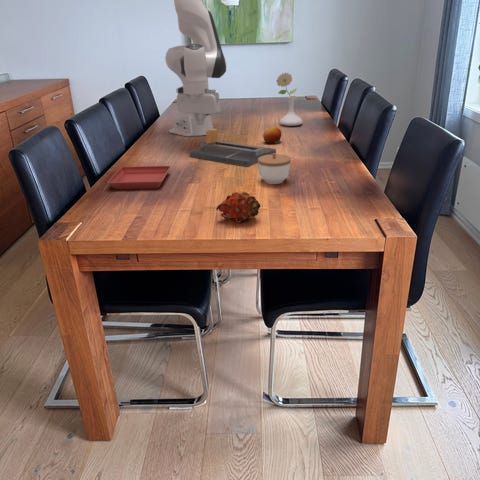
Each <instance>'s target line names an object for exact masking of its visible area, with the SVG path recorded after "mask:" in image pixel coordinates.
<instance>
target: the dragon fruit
mask: <svg viewBox="0 0 480 480" xmlns="http://www.w3.org/2000/svg"><path fill="white" fill-rule="evenodd" d="M260 208H261V204H260V202H259V201H258V200H257V199H256V198H255V197H254V195H250V193H247V192H246V191H242V192H241V193H239V192H232V193H231V195H227V196H226V197H225V199H224V200H223V201H222V202H221V203H220V204H218V205H217V207H216V211H219V212H220V213H221V212H222V213H221V214H220V216H221V217H222V218H224V219H231V220H232V219H233V220H232V221H235V222H236V223H237V224H239V223H241V222H242V221H244V222H247V221H250V219H251V218H255V217H257V216H258V215H259V213H260V212H259V210H260Z"/></svg>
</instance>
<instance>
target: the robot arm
mask: <svg viewBox="0 0 480 480" xmlns="http://www.w3.org/2000/svg"><path fill="white" fill-rule="evenodd" d="M173 3H174V4H173V5H174V9H175V13H176V15H177V24H178V31H179V32H180V33H181V34H182V35H183V36H185V37H187V38H190V39H191V40H192V42H193V43H191V44H187V45H176V46H173V47H170V48H168V49H167V51H166V54H165V58H164V59H165V63H166V66H167V67H168V69H169V70H170V71H172V73H174V74H175V75H177V77H178V78H179V80H180V81H181V84H182V85H181V86H179V87H177V88H176V89H175V91H176V94H177V95H176V107H177V111H178V112H179V114H178V115H177V116H176V117H175V118H174V120H173V128H170V129H169V130H168V133H171V134H174V135H178V136H183V137H198V136H206V131H208V130H211V129H214V126H213V121H212V116H211V115H213V116H214V115H219V114H220V113H221V112H222V108H221V101H220V96H219V95H220V94H219V92H218V91H217V90H216V89H210V88H209V78H211V79H220V78H221V77H223V76H224V75H225V73H226V72H227V61H226V58H225V55H224V51H223V49H222V46H221V42H220V38H219V34H218V30H217V26H216V21H215V20H214V17H213V14H212V12H211V10H209V9H207V8H206V6H205V5H204V3H203V0H173Z"/></svg>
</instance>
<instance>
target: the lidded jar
mask: <svg viewBox="0 0 480 480" xmlns="http://www.w3.org/2000/svg"><path fill="white" fill-rule="evenodd" d="M291 161H292V160H291V157H290V156H289V155H286V154H285V155H284V154H279V153H278V154H277V152H276V153H273V154H270V155H264V156H261V157H259V158H258V162H257V164H258V173H259V175H260V177H261V178H262V179H263V180H264V182H265V183H267V184H269V185H278V184H282V183H284V181H285V180H286V179H287V177H288V176H289V174H290V171H291V170H290V169H291Z"/></svg>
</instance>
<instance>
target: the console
mask: <svg viewBox="0 0 480 480" xmlns="http://www.w3.org/2000/svg"><path fill="white" fill-rule="evenodd" d="M199 144H200V147H199V148H196V149H194V150H191V151H188V154H189V158H194V159H201V160H204V161H211V162H217V163H223V164H229V165H236V166H241V167H246V168H247V167H248V168H249V167H251V166H253V165H255V164H258V158H259V157H261V156H264V155H270V154H273V153H276V154H277V149H276V148H272V147H266V146H265V147H264V146H257V145H250V144H243V143H237V142H231V141H230V142H229V141H222V140H218V141H217V142H216V144H209V143H207V141H204V142H201V143H199Z"/></svg>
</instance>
